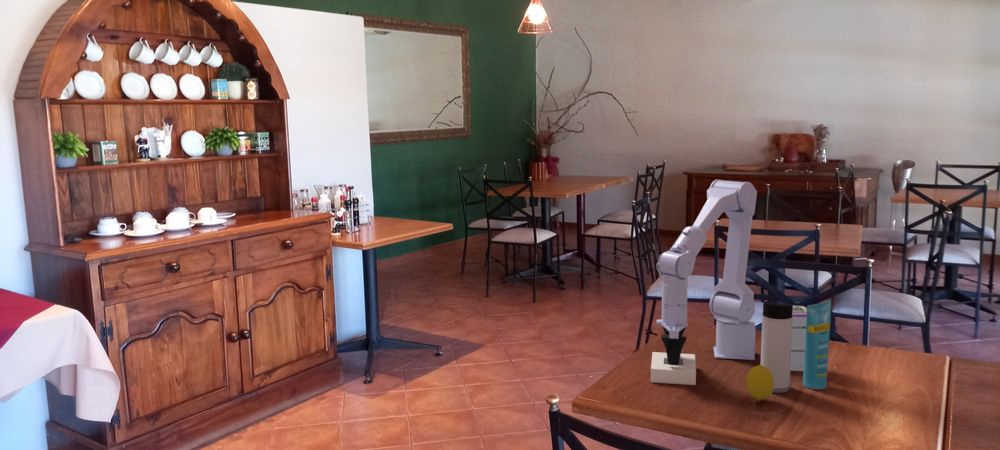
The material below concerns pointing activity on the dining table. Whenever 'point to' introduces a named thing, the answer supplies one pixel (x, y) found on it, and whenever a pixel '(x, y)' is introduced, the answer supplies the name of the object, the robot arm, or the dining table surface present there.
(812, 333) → the tube
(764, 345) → the travel mug
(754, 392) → the lemon
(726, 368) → the dining table surface
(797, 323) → the syrup box
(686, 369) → the bore block
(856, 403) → the dining table surface
